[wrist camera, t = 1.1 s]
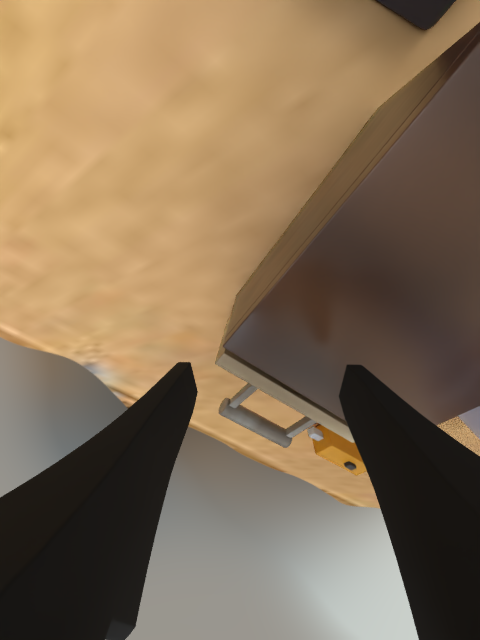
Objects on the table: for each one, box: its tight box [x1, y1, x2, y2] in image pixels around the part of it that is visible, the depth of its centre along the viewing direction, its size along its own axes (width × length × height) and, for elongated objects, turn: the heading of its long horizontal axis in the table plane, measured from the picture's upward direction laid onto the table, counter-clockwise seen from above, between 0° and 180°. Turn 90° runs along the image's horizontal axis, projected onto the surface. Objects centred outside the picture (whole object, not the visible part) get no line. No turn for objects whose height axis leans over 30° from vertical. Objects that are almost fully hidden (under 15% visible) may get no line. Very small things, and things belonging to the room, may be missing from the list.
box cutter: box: [308, 424, 367, 475], centre depth 25 cm, size 9×3×3 cm, turn 55°
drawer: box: [215, 318, 355, 448], centre depth 15 cm, size 18×13×6 cm
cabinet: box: [223, 23, 480, 425], centre depth 13 cm, size 15×15×8 cm
